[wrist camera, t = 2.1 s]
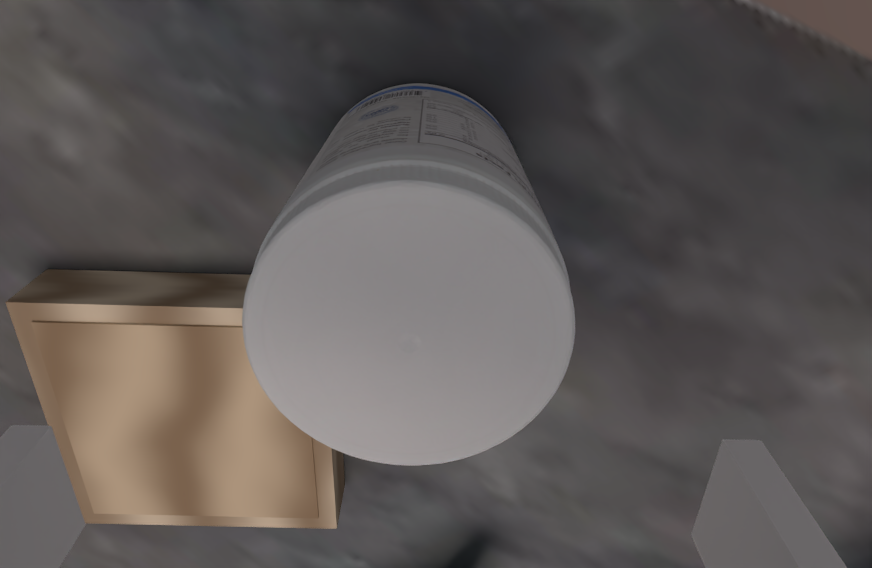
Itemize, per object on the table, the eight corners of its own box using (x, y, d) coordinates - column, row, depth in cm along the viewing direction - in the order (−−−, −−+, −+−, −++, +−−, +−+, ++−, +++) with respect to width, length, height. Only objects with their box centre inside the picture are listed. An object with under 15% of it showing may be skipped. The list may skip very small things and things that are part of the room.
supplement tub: (446, 298, 33) (451, 518, 20) (287, 207, 30) (176, 390, 17) (558, 149, 29) (657, 302, 16) (387, 31, 27) (341, 100, 14)
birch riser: (333, 276, 32) (321, 312, 29) (344, 483, 39) (336, 530, 36) (47, 269, 32) (3, 303, 29) (110, 478, 39) (80, 525, 36)
